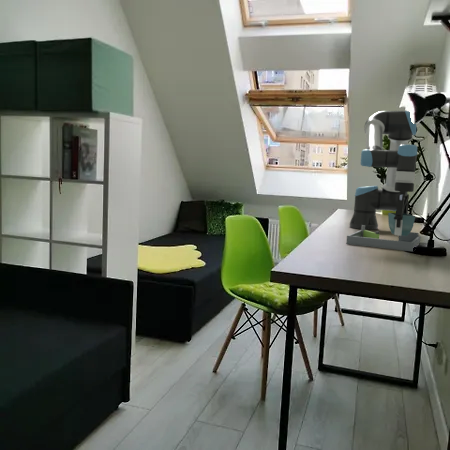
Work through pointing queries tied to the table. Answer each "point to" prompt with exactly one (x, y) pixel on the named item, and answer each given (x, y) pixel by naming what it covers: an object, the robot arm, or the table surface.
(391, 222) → the flower pot
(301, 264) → the table surface
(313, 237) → the table surface
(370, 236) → the gate
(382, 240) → the grey desk tray
